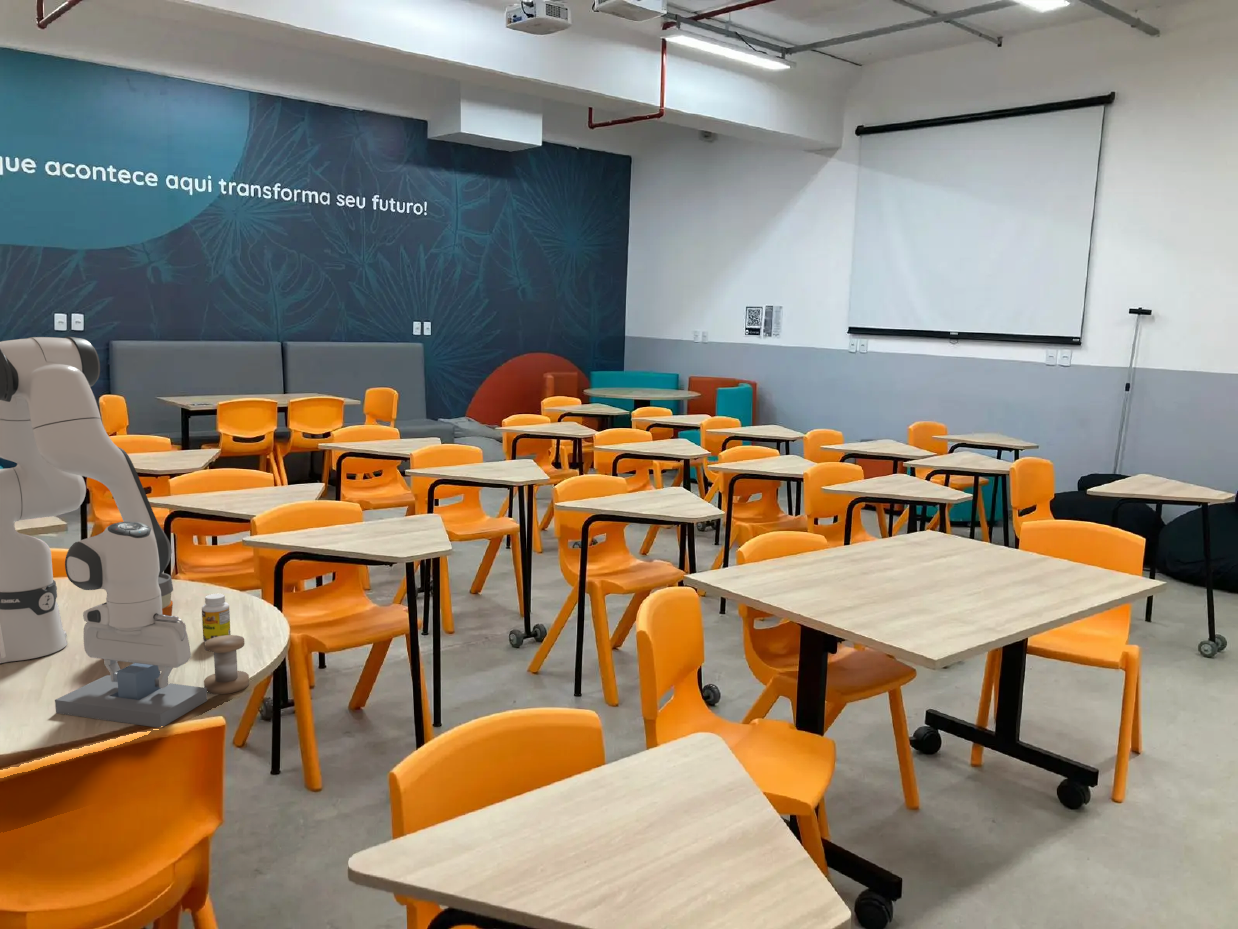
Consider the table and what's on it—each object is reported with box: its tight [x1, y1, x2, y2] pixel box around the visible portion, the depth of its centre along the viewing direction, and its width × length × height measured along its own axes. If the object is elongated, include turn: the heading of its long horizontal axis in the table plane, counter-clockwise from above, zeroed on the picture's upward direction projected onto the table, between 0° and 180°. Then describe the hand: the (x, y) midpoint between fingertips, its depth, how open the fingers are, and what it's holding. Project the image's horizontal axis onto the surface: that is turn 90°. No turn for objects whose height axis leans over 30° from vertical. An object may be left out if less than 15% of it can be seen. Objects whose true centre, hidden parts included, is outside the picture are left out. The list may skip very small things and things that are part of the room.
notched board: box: [54, 674, 208, 728], centre depth 167 cm, size 22×12×2 cm, turn 76°
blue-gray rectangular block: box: [117, 663, 161, 700], centre depth 169 cm, size 4×6×7 cm, turn 166°
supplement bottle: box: [201, 593, 232, 643], centre depth 201 cm, size 6×6×10 cm
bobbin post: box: [203, 634, 250, 695], centre depth 177 cm, size 8×8×9 cm
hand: (139, 684), depth 169 cm, fingers open, 8 cm apart
